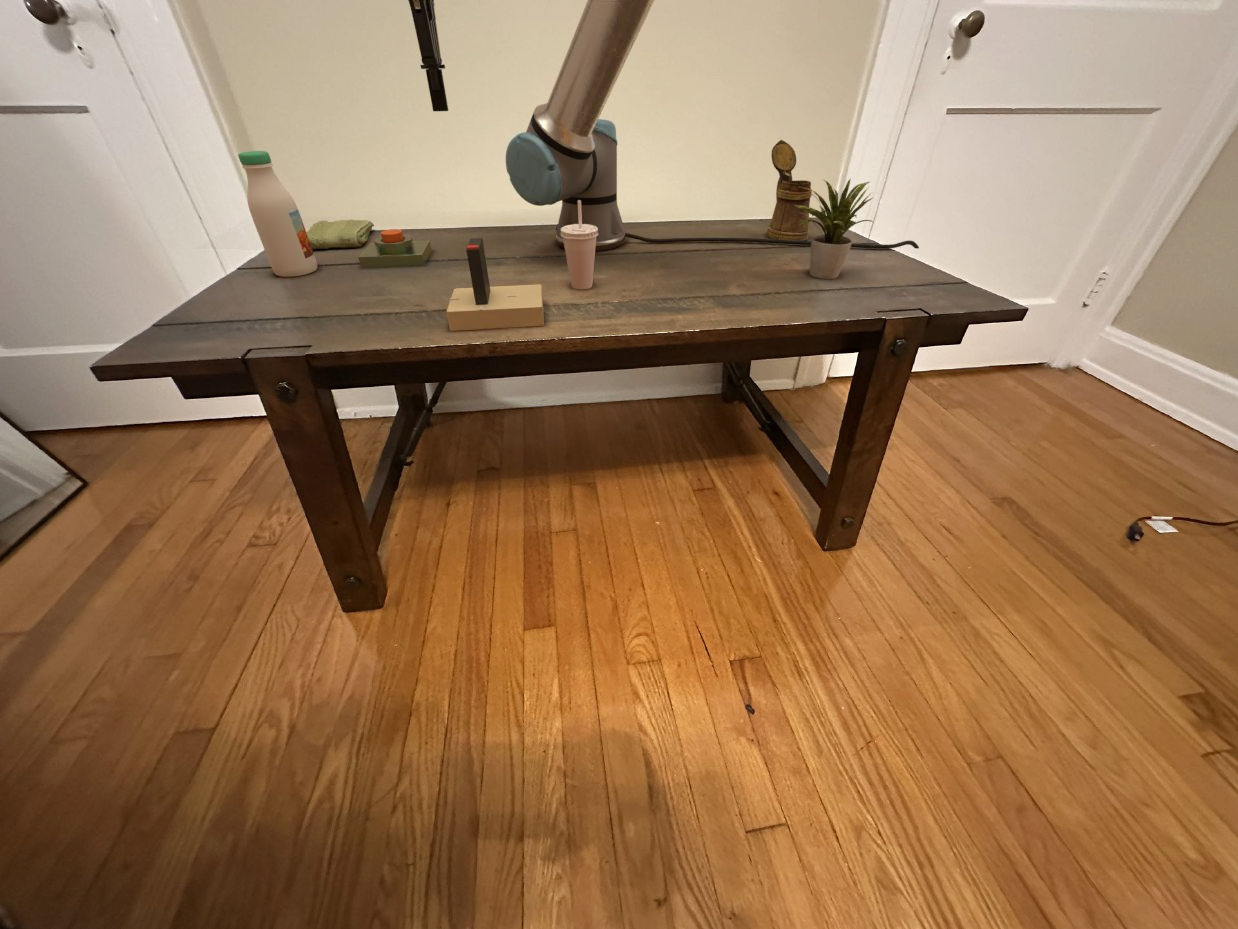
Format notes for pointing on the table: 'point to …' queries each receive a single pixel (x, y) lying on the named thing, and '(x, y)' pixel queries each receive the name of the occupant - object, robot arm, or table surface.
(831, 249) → the house plant
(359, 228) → the washcloth
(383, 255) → the switch block
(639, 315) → the table surface
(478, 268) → the black rectangular block
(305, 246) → the milk bottle
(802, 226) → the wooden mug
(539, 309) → the tan wooden block
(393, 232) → the button
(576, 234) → the smoothie
